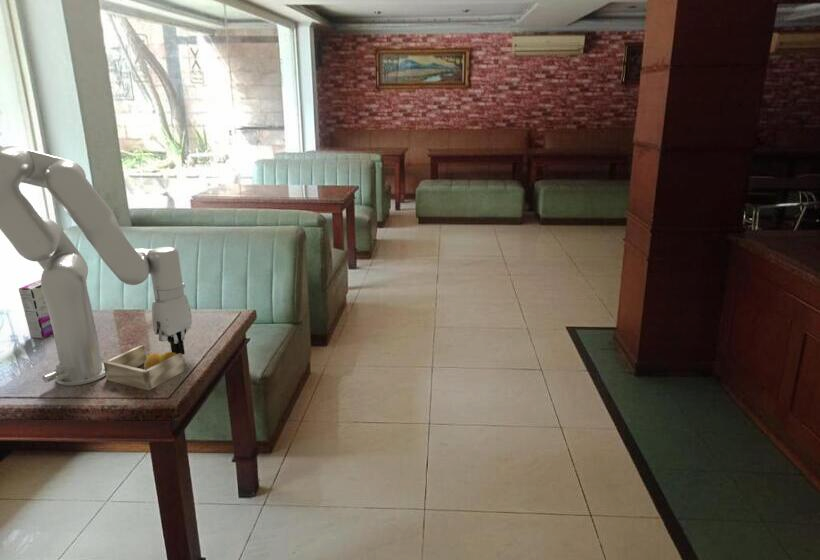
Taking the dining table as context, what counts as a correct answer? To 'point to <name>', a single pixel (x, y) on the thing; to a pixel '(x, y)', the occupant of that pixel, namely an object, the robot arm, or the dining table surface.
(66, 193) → the robot arm
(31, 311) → the candy bar box
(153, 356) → the bread roll
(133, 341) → the dining table surface
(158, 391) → the dining table surface
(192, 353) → the dining table surface
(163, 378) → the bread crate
